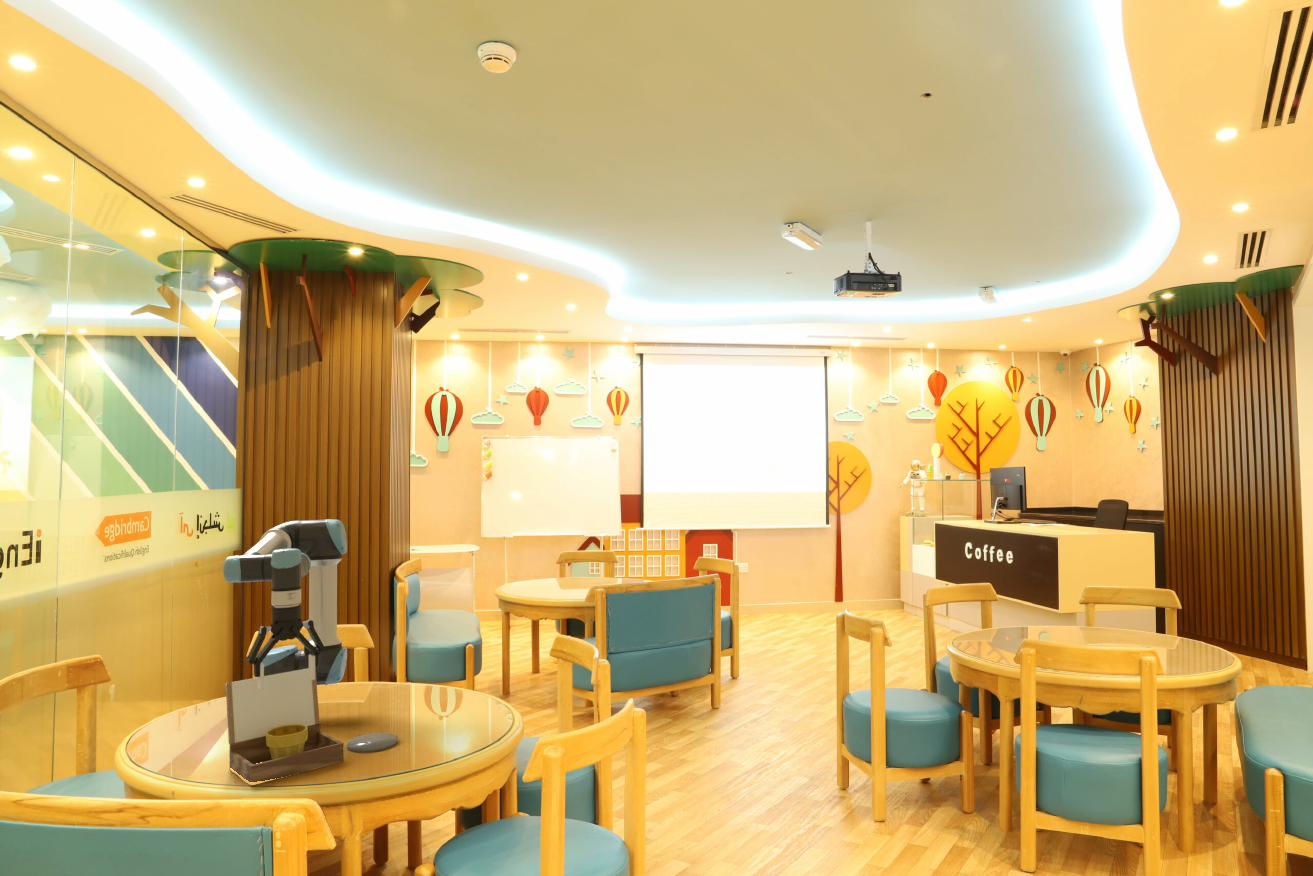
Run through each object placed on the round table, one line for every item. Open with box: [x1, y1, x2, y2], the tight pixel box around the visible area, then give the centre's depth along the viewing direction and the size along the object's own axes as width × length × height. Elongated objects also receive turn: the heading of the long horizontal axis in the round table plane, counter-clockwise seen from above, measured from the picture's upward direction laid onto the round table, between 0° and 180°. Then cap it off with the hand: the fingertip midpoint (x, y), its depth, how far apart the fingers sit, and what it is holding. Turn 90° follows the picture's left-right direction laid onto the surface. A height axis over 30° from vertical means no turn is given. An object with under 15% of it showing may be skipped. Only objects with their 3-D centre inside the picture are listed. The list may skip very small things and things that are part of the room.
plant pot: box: [266, 724, 308, 760], centre depth 222 cm, size 10×10×10 cm
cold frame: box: [229, 723, 344, 782], centre depth 222 cm, size 17×24×7 cm
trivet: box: [346, 732, 398, 753], centre depth 238 cm, size 14×14×1 cm
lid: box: [225, 667, 321, 745], centre depth 229 cm, size 4×24×16 cm, turn 134°
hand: (286, 683), depth 222 cm, fingers open, 13 cm apart
